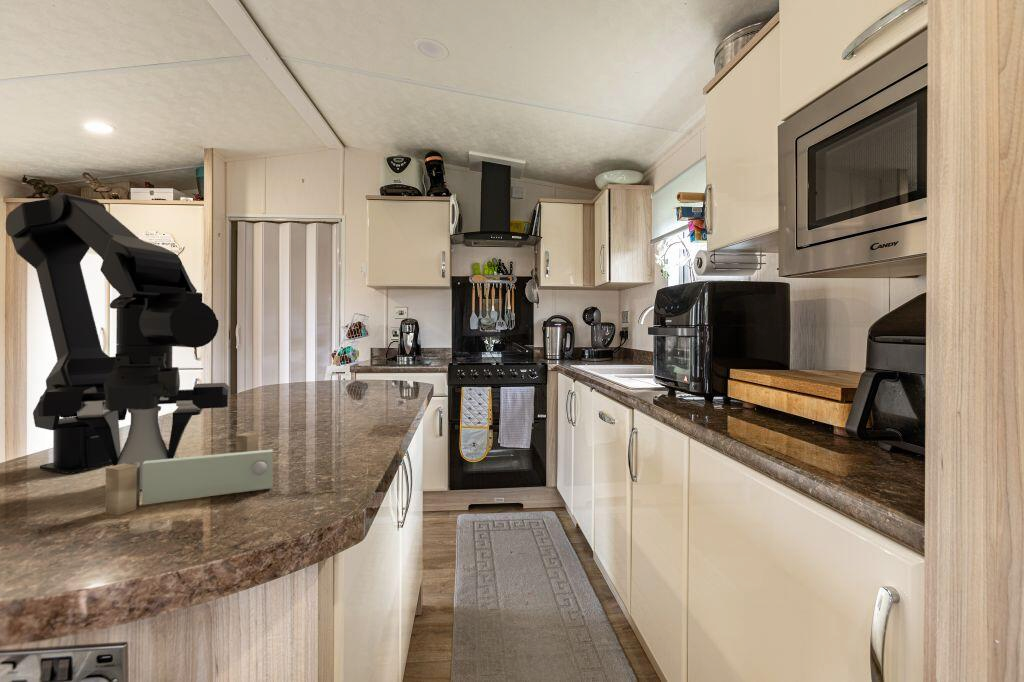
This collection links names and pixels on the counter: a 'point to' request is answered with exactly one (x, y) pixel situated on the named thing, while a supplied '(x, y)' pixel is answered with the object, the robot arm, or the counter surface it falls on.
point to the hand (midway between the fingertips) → (144, 463)
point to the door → (206, 475)
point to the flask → (143, 439)
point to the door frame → (127, 479)
